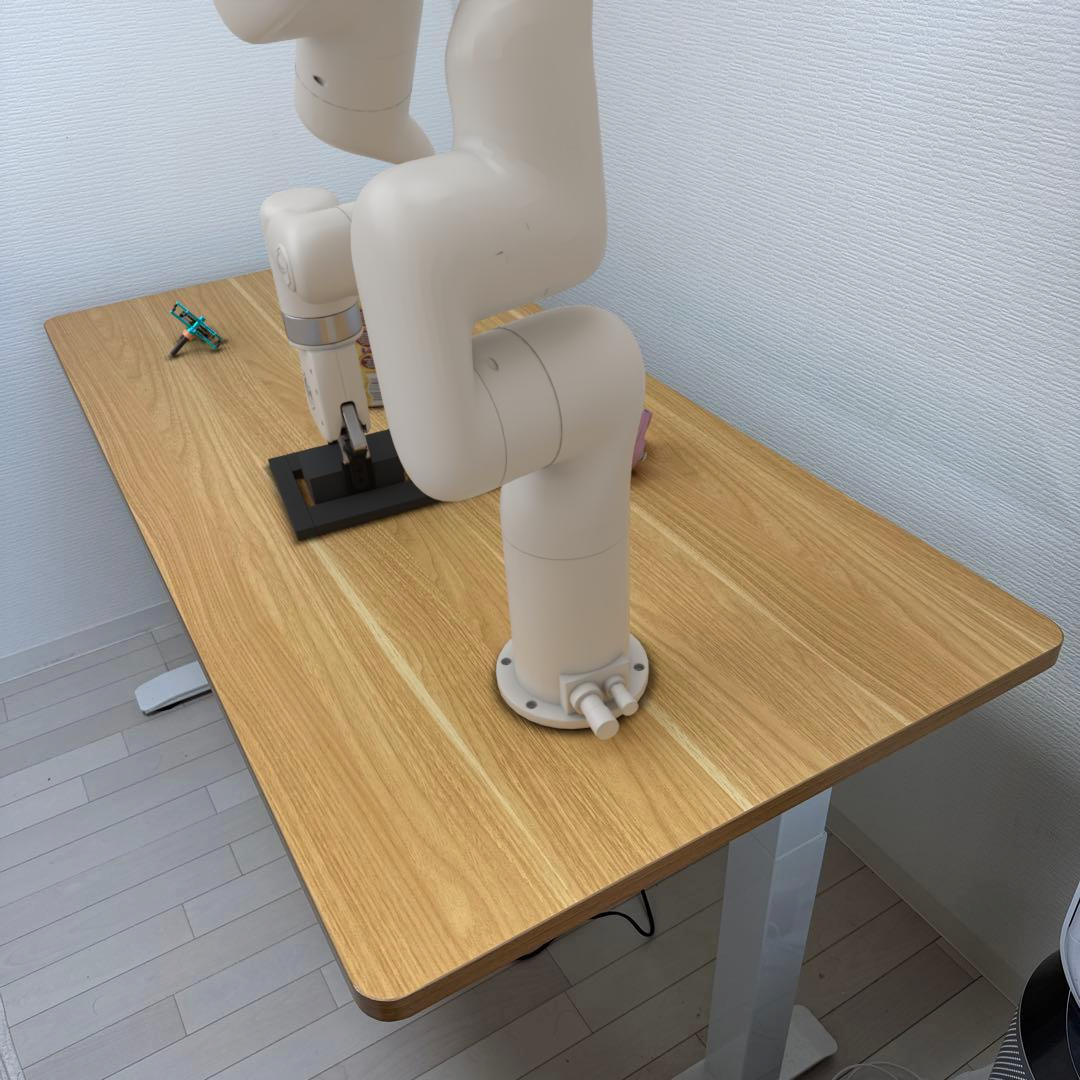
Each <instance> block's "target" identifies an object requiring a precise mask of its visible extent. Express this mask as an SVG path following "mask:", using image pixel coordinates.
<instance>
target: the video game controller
mask: <svg viewBox="0 0 1080 1080" xmlns="http://www.w3.org/2000/svg"><path fill="white" fill-rule="evenodd" d="M652 418H653V412H651V411H650V410H648V409H646V408H643V410H642V415H641V420H640V424H639V428H638V433H637V437H636V441H635V447H634V452H633V459H632V468H631V470H632V469H634V468H635V466H636V465H637V463H638V462H640V463H643V462H644V461H645V460H646V458H647V457H648V456H647V451H645V452H644V450H645V447H646V443H647V440H646V439H645V436H646V433H647V430H648V428H649V426H650V423H651V420H652Z"/></svg>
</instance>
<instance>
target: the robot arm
mask: <svg viewBox="0 0 1080 1080" xmlns="http://www.w3.org/2000/svg"><path fill="white" fill-rule="evenodd" d="M212 2H213V5H214V7H215V9H216V12H217V13H218V15H219V18H220V19H221V21H222V22H223V24H224V25H225V27H226V28H227V29H228V30H229V31H230V32H231V34H232V35H234V36H235V37H236V38H238V39H239V40H241V41H243V42H245V43H248V44H251V45H267V44H272V43H280V42H285V41H293V40H295V63H294V90H293V92H294V93H293V98H294V107H295V111H296V113H297V116H298V118H299V120H300V122H301V123H302V125H303V126H304V127H305V128H306V129H307V131H308V132H309V133H311V134H312V136H314V137H315V138H317V139H318V140H319V141H321V142H322V143H324V144H326V145H328V146H330V147H332V148H335V149H337V150H340V151H343V152H346V153H349V154H353V155H356V156H360V157H365V158H369V159H374V160H377V161H379V162H380V161H381V162H385V163H389V164H392V165H393V166H391V167H389V168H387V169H385V170H382V171H380V172H379V173H377V174H376V175H374V176H373V177H372V178H371V179H370V180H368V182H367V183H366V184H365V185H364V187H362V189H361V191H360V193H359V195H358V196H357V199H356V200H354V201H351V202H347V203H342V204H341V202H340V200H339V199H338V197H337V196H336V195H335V194H334V193H333V192H331V191H330V190H328V189H326V188H321V187H313V186H312V187H311V186H309V187H308V186H307V187H306V186H305V187H295V188H289V189H285V190H280V191H278V192H275V193H273V194H271V195H269V196H267V197H266V198H265V199H264V200H263V201H262V203H261V205H260V208H259V220H260V225H261V230H262V235H263V239H264V243H265V247H266V252H267V256H268V260H269V265H270V269H271V275H272V277H273V282H274V286H275V291H276V295H277V299H278V304H279V308H280V314H281V317H282V322H283V326H284V331H285V335H286V340H287V343H288V345H290V346H291V347H292V348H294V349H297V353H298V358H299V364H300V370H301V375H302V379H303V380H302V381H303V385H304V391H305V397H306V401H307V406H308V410H309V412H310V415H311V417H312V419H313V422H314V423H315V425H316V428H317V429H318V431H319V433H320V435H321V437H322V438H323V440H325V442H327V444H328V446H329V445H333V444H337V443H338V444H339V447H340V451H341V455H342V459H343V461H341V462H340V463H341V468H342V472H343V477H344V482H345V487H346V491H347V493H348V494H349V495H354V494H357V493H361V492H365V491H369V490H372V489H375V488H376V486H377V485H376V479H375V474H374V469H373V463H372V458H371V455H370V453H369V449H368V445H367V441H366V437H365V435H367V434H369V433H370V430H372V429H371V428H372V424H371V417H370V410H369V407H368V403H367V398H366V393H365V387H364V382H363V377H362V373H361V368H360V361H359V359H358V354H357V349H356V345H355V340H357V339H358V338H359V337H360V336H361V335H362V334H363V325H362V320H361V314H360V308H359V303H358V298H357V294H359V297H360V302H361V306H362V311H363V315H364V320H365V324H366V329H367V333H368V338H369V342H370V346H371V351H372V355H373V360H374V364H375V369H376V373H377V378H378V382H379V387H380V391H381V396H382V400H383V405H384V406H383V408H384V413H385V417H386V420H387V425H388V429H389V430H390V433H391V436H392V440H393V443H394V446H395V449H396V451H397V454H398V456H399V459H400V461H401V463H402V465H403V468H404V472H405V473H406V474H407V476H408V478H409V480H412V481H413V483H414V484H415V485H416V486H417V487H418V488H419V489H420V490H421V491H422V492H423V493H425V494H426V495H428V496H430V497H432V498H434V499H437V500H441V502H447V503H448V502H449V503H450V502H451V503H452V502H461V501H465V500H469V499H472V498H476V497H478V496H481V495H484V494H486V493H488V492H491V491H493V490H496V489H499V488H500V495H499V520H500V521H499V522H500V531H501V542H502V551H503V561H504V572H505V580H506V581H505V583H506V592H507V601H508V602H507V605H508V611H509V612H508V613H509V622H510V623H509V624H510V632H511V633H510V634H511V637H510V639H509V640H508V641H507V642H506V643H505V644H504V645H503V647H502V649H501V650H500V652H499V655H498V657H497V660H496V666H495V667H496V670H495V671H496V672H495V673H496V674H495V675H496V683H497V687H498V690H499V693H500V695H501V697H502V698H503V700H504V701H505V703H506V704H507V705H508V706H509V708H511V709H512V710H513V711H514V712H515V713H516V714H518V715H519V716H521V717H523V718H524V719H526V720H528V721H530V722H532V723H536V724H538V725H541V726H545V727H549V728H554V729H564V730H565V729H566V730H567V729H568V730H577V729H586V728H587V729H589V728H590V729H591V730H592V732H593V733H594V735H595V737H596V738H597V739H598V740H601V741H606V740H610V739H611V738H613V737H614V736H615V735H617V733H618V732H619V729H620V724H619V721H618V720H617V719H618V718H619V717H621V716H623V715H624V716H625V717H628V716H633V715H634V714H635V713H636V712H638V709H639V703H638V702H639V701H640V699H641V698H642V697H643V695H644V693H645V692H646V688H647V685H648V684H649V683H648V681H649V675H650V674H649V673H650V671H649V659H648V655H647V653H646V652H647V651H646V650H645V648H644V647H643V645H642V643H641V642H640V640H638V639H637V637H636V636H634V635H633V633H631V602H630V601H631V594H630V593H631V591H630V590H631V579H630V578H631V577H630V576H631V572H630V571H631V565H630V564H631V562H630V561H631V560H630V559H631V558H630V557H631V555H630V553H631V551H630V550H631V549H630V548H631V544H630V543H631V540H630V539H631V538H630V537H631V535H630V533H631V531H630V529H631V527H630V526H631V480H632V469H633V468H632V459H633V452H634V447H635V441H636V437H637V433H638V428H639V424H640V420H641V415H642V410H643V409H644V406H645V404H644V403H645V397H646V384H647V383H646V369H645V362H644V357H643V354H642V351H641V348H640V345H639V343H638V341H637V339H636V336H635V335H634V334H633V332H632V330H631V329H630V328H629V327H628V326H627V325H626V323H625V322H624V321H623V320H622V319H620V318H619V317H618V316H617V315H616V314H613V313H611V312H610V311H608V310H607V309H603V308H601V307H597V306H595V305H586V304H572V305H571V304H569V305H564V306H557V307H552V308H548V309H546V310H545V309H544V310H542V311H538V312H536V313H533V314H530V315H527V316H524V317H522V318H518V319H516V320H512V321H510V322H506V323H504V324H501V325H498V326H495V327H492V328H490V329H489V330H485V331H483V332H480V333H477V334H475V335H473V334H474V333H473V331H474V328H475V325H476V324H477V323H478V322H480V321H483V320H486V319H489V318H492V317H495V316H498V315H501V314H503V313H507V312H510V311H512V310H515V309H518V308H521V307H523V306H526V305H530V304H533V303H535V302H538V301H542V300H545V299H546V298H549V297H552V296H554V295H558V294H561V293H563V292H565V291H568V290H571V289H572V288H574V287H576V286H578V285H580V284H582V283H584V282H585V281H587V280H588V279H589V278H590V277H592V276H594V274H595V273H596V271H597V270H598V269H599V268H600V266H601V265H602V263H603V262H604V259H605V256H606V251H607V248H608V233H609V232H608V206H607V191H606V182H605V169H604V158H603V146H602V133H601V132H602V131H601V122H600V111H599V110H600V109H599V99H598V88H597V79H596V70H595V61H594V46H593V45H594V43H593V16H594V0H459V2H458V4H457V7H456V9H455V13H454V14H453V15H454V16H453V19H452V22H451V25H450V29H449V31H448V37H447V40H446V46H445V51H444V73H445V74H444V77H445V84H446V85H445V86H446V90H447V94H448V99H449V101H448V102H449V106H450V113H451V122H452V133H453V134H452V135H453V137H452V138H453V139H452V143H451V148H450V149H449V151H447V152H442V153H436V151H435V148H434V146H433V143H432V141H430V138H429V137H428V136H427V134H426V133H425V131H424V130H423V128H422V127H421V125H419V123H418V122H417V121H416V119H414V117H413V116H412V115H411V114H410V105H411V99H412V93H413V84H414V78H415V77H414V76H415V69H416V61H417V53H418V46H419V40H420V33H421V25H422V16H423V10H424V9H423V8H424V2H425V1H424V0H212ZM349 440H350V445H351V446H350V447H348V450H347V449H346V445H345V441H349ZM631 468H632V469H631Z"/></svg>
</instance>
